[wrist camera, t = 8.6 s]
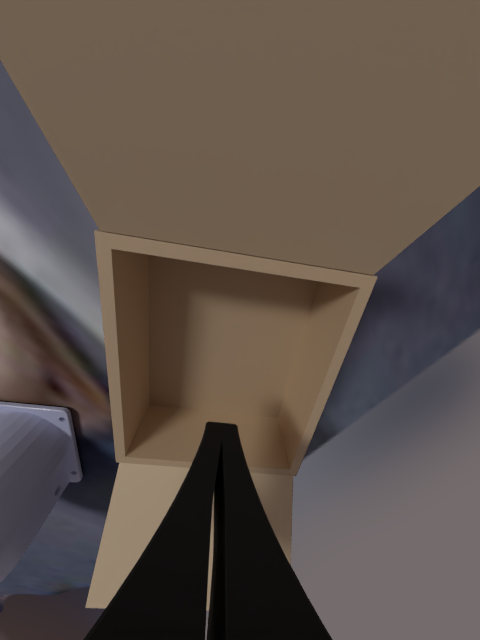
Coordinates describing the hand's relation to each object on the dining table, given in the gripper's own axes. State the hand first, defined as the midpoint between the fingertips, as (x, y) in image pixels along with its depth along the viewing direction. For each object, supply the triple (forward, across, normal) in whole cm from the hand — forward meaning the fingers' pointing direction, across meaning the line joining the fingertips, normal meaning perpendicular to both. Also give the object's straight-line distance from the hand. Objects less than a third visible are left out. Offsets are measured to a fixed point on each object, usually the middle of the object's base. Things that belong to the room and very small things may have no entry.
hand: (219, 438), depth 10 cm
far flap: (0, 0, +9) cm, 9 cm away
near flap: (0, 0, -10) cm, 10 cm away
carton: (+8, 0, -1) cm, 8 cm away
